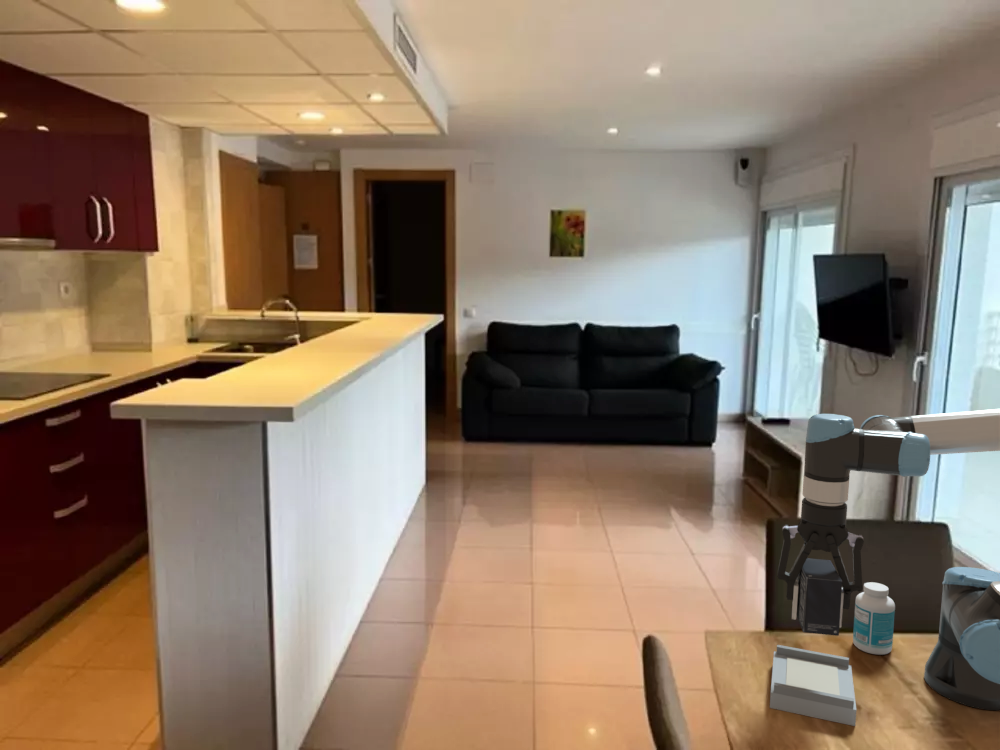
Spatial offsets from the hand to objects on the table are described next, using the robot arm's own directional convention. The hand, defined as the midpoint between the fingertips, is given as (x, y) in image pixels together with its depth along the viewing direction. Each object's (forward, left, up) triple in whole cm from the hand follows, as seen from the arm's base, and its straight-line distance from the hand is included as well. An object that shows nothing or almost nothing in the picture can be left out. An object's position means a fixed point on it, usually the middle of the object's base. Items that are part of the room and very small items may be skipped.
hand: (816, 619), depth 136 cm
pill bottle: (-12, -24, -15) cm, 31 cm away
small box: (0, 0, -1) cm, 1 cm away
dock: (0, 0, -15) cm, 15 cm away
